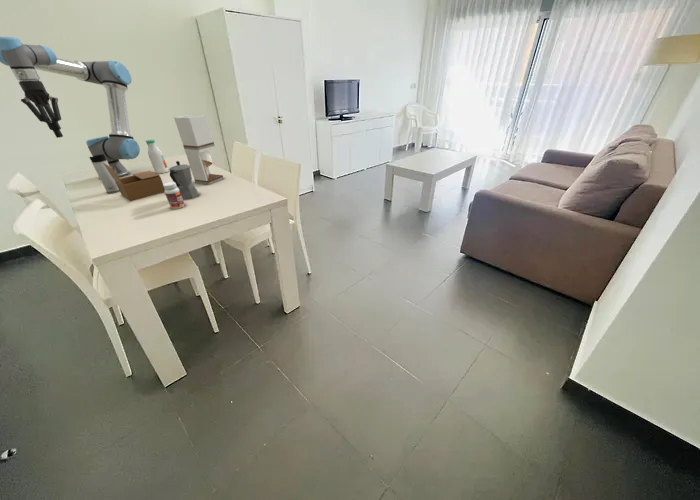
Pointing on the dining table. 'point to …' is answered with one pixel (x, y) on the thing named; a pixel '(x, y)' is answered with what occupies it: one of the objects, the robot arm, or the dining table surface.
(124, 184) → the carton
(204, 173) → the drip coffee maker
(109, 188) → the travel mug
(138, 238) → the dining table surface
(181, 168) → the coffeepot
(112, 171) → the flap
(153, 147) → the milk bottle
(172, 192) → the pill bottle
